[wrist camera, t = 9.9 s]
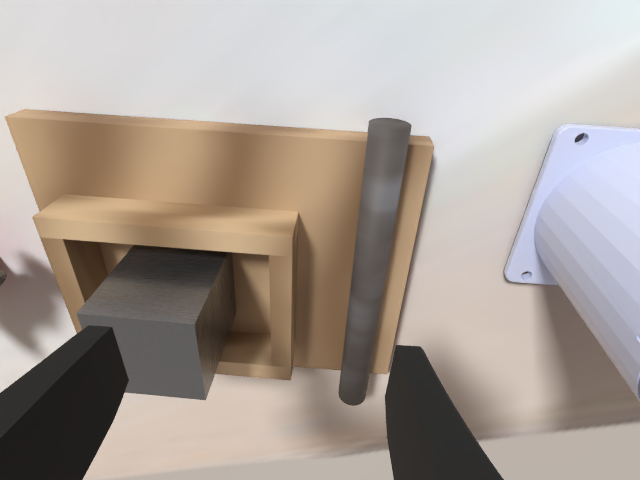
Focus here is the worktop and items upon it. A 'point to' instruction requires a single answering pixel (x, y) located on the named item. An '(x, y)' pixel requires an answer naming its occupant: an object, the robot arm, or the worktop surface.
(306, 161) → the plate
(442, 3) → the worktop surface
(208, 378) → the grey rectangular block
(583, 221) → the robot arm
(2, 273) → the toy boat
